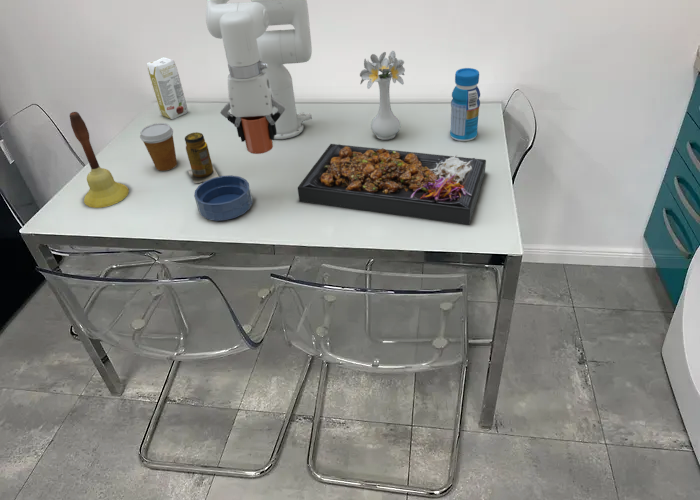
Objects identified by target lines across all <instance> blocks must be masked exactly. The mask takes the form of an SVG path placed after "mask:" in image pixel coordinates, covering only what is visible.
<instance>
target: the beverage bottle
mask: <svg viewBox="0 0 700 500" xmlns="http://www.w3.org/2000/svg"><path fill="white" fill-rule="evenodd" d="M479 81H480V71H479V70H478V69H477V68H471V67H463V68H459V69H456V71H455V75H454V83H455V86H454V88H453V90H452V92H451V101H450V109H451V110H450V130H449V135H450V137H451V138H452V139H453V140H455V141H459V142H469V141H472V140H475V139H476V138H477V136H478V127H479V116H480V107H481V100H480V98H481V90H480V88H479V86H478V84H479V83H480V82H479Z"/></svg>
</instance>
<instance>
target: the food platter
mask: <svg viewBox="0 0 700 500" xmlns="http://www.w3.org/2000/svg"><path fill="white" fill-rule="evenodd" d="M486 164H487V160H486V159H482V158H475V157H463V156H458V154H455V156H454V155H445V154H444V155H443V154H434V153H424V152H415V151H406V150H405V151H403V150H396V149H395V150H394V149H386V148H384V147H381V148H375V147H365V146H358V145H357V146H355V145H345V144H339V143H337V144H336V143H330V144H329V145H328V146H327V148H326V149H325V150H324V151H323V153H322V154H321V156H320V157H319V158H318V160H317V161H316V162H315V164H314V165H313V166H312V168H311V169H310V170H309V171H308V173H307V174H306V175H305V177H304V178H303V180H302V181H301V182H300V184H299V185H298V186H297V194H298V200H299V202H302V203H307V204H314V205H323V206H324V205H325V206H330V207H336V208H337V207H338V208H343V209H351V210H352V209H353V210H359V211H367V212H373V213H379V214H381V213H382V214H388V215H395V216H402V217H409V218H417V219H422V220H423V219H424V220H431V221H439V222H446V223H452V224H460V225H470V224H471V221H472V217H473V215H474V211H475V207H476V204H477V201H478V197H479V194H480V191H481V187H482V184H483V181H484V179H485V175H486V166H487V165H486Z"/></svg>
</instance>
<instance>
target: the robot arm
mask: <svg viewBox="0 0 700 500" xmlns="http://www.w3.org/2000/svg"><path fill="white" fill-rule="evenodd" d="M229 1H230V0H206V5H205V23H206V28H207V30H208V32H209V34H210V35H211V36H212V37H214V38H215V39H220V40H222V44H223V48H224V53H225V58H226V63H227V67H228V76H227V90H228V91H227V92H228V93H227V94H228V102H226V104H224V106H223V107H222V108H221V110H220V115H222V116H223V117H224V118H225V119H227V121H228V122H230V123H231V124H232V125H234V127H235V128H236V132H237V136H238V138H240V141H241V142H242V143H244V142H245V137H244V132H243V128H242V123H241V118H242V117H256V116H265V117H266V119H267V120H268V122H269V125H268V128H269V133H270V139H271V140H272V141H274V140H284V139H285V140H286V139H290V138H291V139H292V138H294V137H296V136H298V135H300V134H301V133H302V132H303V131H304V122H306V121H310V120H312V119H313V118H312V117H313V116H312V114H311V113H306V114H305V112H301V113H298V112H297V106H296V99H295V98H296V97H295V92H294V91H295V90H294V84H293V77H292V74H291V73H290V71H289V69H287V67H286V66H285V65H291V64H302V63H303V64H304V63H307V62H309V61H310V60H311V58H312V53H313V52H312V51H313V48H312V36H311V26H310V17H309V7H308V1H307V0H250V1H247V2H229ZM228 2H229V3H228ZM287 25H290V26H292V27H293V28H291V29H273V30H272V29H271V30H268V28H269V26H270V27H271V26H287Z"/></svg>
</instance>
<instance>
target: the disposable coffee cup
mask: <svg viewBox="0 0 700 500" xmlns="http://www.w3.org/2000/svg"><path fill="white" fill-rule="evenodd" d="M139 132H140V135H139V139H140V140H141V141H142V142H143V144H144V146H145V148H146V150H147V153H148V154H149V156H150V158H151V160H152V163H153V164H154V166H155V169H156V170H157V171H159V172H160V171H161V172H164V171H170V170H173V169H174V168H176V167H177V166H178V161H177V154H176V148H175V141H174V129H173V128H172V126H171V125H170V124H168V123H166V122H157V123H152V124H149V125H147V126H144V127H143V128H141V130H140V131H139Z"/></svg>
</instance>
